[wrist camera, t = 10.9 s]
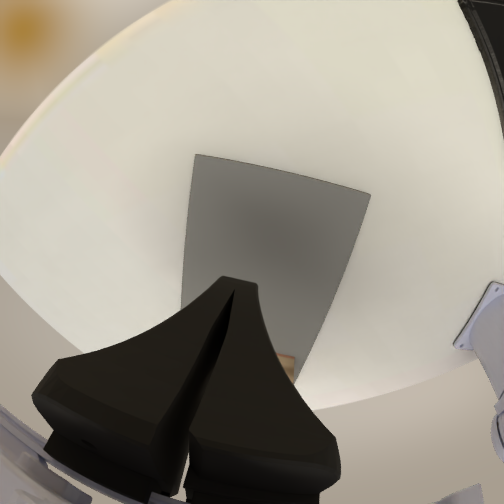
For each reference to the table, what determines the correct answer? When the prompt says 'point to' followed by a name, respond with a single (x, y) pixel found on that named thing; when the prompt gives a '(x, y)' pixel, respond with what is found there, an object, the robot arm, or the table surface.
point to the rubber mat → (271, 243)
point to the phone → (489, 41)
